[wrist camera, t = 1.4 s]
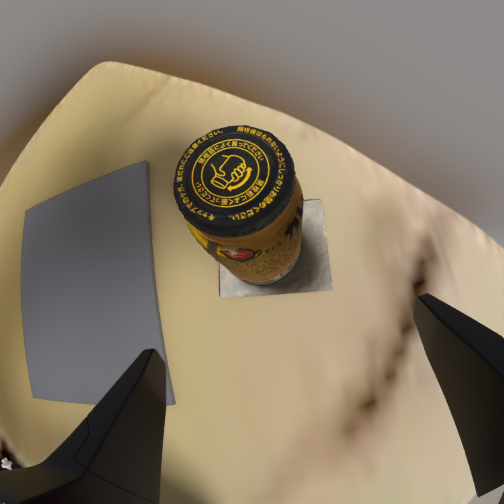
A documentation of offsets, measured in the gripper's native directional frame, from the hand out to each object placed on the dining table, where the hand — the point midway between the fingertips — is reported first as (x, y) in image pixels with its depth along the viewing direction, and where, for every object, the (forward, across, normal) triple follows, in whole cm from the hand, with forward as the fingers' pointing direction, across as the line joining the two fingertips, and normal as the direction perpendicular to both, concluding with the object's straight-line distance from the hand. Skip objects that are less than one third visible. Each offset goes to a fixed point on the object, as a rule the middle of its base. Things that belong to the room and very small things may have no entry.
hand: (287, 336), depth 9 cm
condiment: (+14, 0, +5) cm, 14 cm away
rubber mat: (+13, +19, +4) cm, 24 cm away
